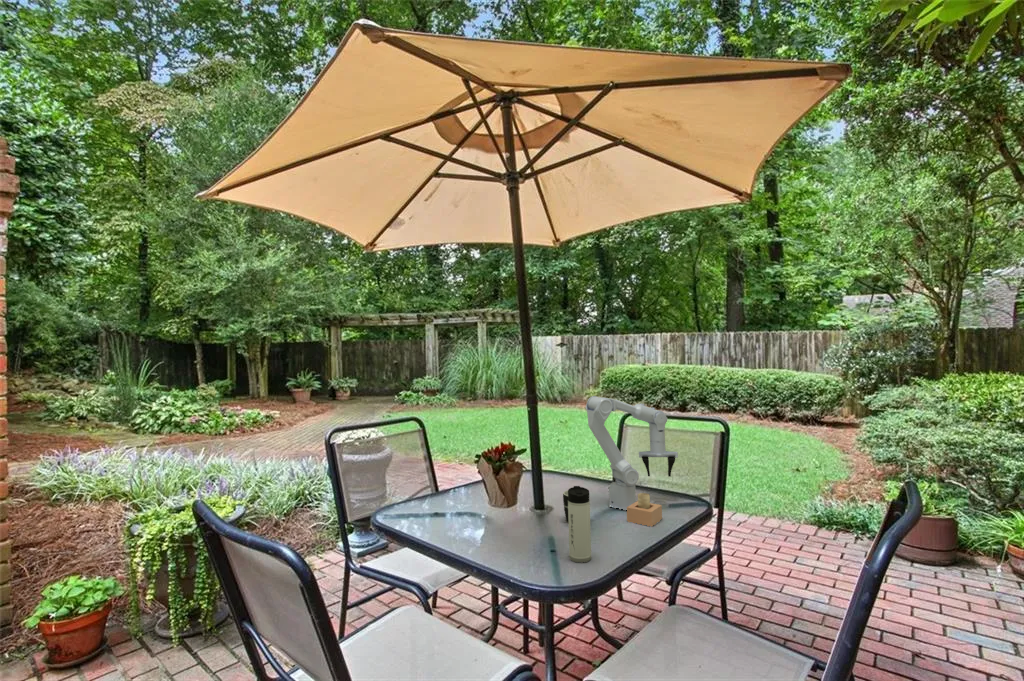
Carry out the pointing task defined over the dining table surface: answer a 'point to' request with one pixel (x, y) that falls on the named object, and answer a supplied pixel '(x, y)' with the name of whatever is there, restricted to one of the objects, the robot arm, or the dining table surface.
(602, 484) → the dining table surface
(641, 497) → the peg
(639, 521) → the socket block
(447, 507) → the dining table surface
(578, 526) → the travel mug
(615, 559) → the dining table surface
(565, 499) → the mug
